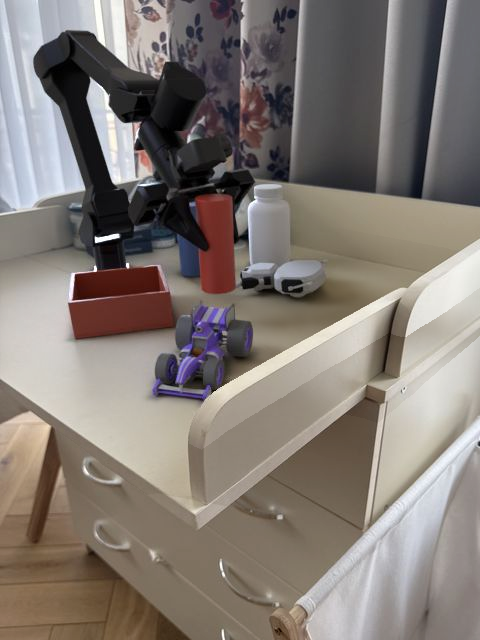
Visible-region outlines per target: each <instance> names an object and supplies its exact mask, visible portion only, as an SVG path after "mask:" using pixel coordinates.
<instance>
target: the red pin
mask: <svg viewBox="0 0 480 640" xmlns="http://www.w3.org/2000/svg"><path fill="white" fill-rule="evenodd" d="M195 205H196V219H197V224H198V226H199V227H200V229H201V231H202V233H203V234H204V236H205V238H206V241H207V243H208V245H209V249H208V250H207V251H206V252H204V251H202V250H201V249H199V262H200V276H199V277H200V288H201V289H200V290H201V291H202V292H204V293H206V294H209V295H225V294H229V293H231V292H233V291H235V290H236V289H237V288H236V281H237V280H236V261H235V260H236V259H235V258H236V257H235V244H234V230H233V205H232V196H230V195H226V194H206V195H200V196H197V197H196V198H195Z"/></svg>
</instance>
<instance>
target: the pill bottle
mask: <svg viewBox="0 0 480 640" xmlns="http://www.w3.org/2000/svg"><path fill="white" fill-rule="evenodd" d="M283 194H284V187H283V185H281V184H279V183H278V184H277V183H264V184H257V185H255V186H254V187H253V195H254V197H253V199H255V200H253V201H251V202H250V203H249V205H248V206H247V223H248V247H249V263H250V266H251V265H253V264H256V263H274V264H276V265H277V266H278V267H280V266H282V265H283V264H285V263H287V262H290V261H291V207H290V205H289V203H288V202H287V201H286V200H284V199H283V197H284V195H283Z"/></svg>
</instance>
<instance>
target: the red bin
mask: <svg viewBox="0 0 480 640" xmlns="http://www.w3.org/2000/svg"><path fill="white" fill-rule="evenodd" d="M69 281H70V282H69V290H68V298H67V306H68V311H69V316H70V322H71V327H72V331H73V336H74V339H75V340H78V339H86V338H94V337H100V336H101V337H102V336H110V335H116V334H117V335H118V334H125V333H132V332H133V333H134V332H140V331H149V330H156V329H163V328H173V327H174V317H173V308H172V297H171V291H170V288H169V285H168V282H167V279H166V276H165V273H164V271H163V268H162V265H161V264H150V265H140V266H131V267H130V266H129V268H120V269H110V270H100V271H94V270H92V271H82V272H81V271H79V272H72V273H70V280H69Z"/></svg>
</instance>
